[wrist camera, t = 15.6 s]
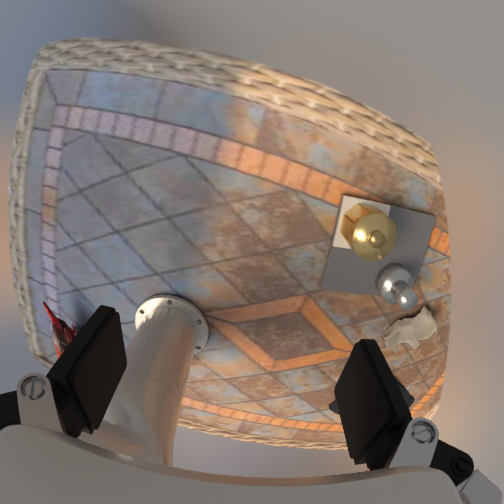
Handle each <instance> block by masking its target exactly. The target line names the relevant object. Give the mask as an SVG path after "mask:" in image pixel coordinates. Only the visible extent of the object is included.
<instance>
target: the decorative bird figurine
mask: <svg viewBox="0 0 504 504" xmlns="http://www.w3.org/2000/svg"><path fill="white" fill-rule="evenodd" d="M43 304H44V307H45V309H46V311H47V313H48V315H49V317H50V319H51V321H52V326H53V338H54V343H55V348H56V352H57V356H58V358H59V357H60V356H61V354H62V353H63V351H64V350H65V349H66V347H67V346H68V345H69V343H70V342H71V341H72V339H73V338H74V337H75V335H76V334H77V331H76V329H75V326H74V327H73V325H72V327H73V330H72V329H71V328H69V327H68V325H67V324H66V323H65V322H64V321H63V320H61V319H59V318H57V317H56V316H55V315H54V314H53V312H52V311H51V310H50V309H49V307H48V306H47V304H46V303H45V302H44V301H43ZM74 334H75V335H74Z"/></svg>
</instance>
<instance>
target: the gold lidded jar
mask: <svg viewBox="0 0 504 504" xmlns="http://www.w3.org/2000/svg"><path fill="white" fill-rule="evenodd" d="M344 214H345V215H343V218H342V223H341V227H340V233H341V235H342V236H343V238H344V239H345V241H346V242H347V244H348V245H349V246H350V248H351V249H352V250H353V251H354V253H355V254H356V255H357V256H359V257H360V258H362V259H363V260H366V261H378V260H381V259H383V258H385V257H386V256H387V255H388V254H389V253H390V252H391V251H392V249H393V248H394V246H395V243H396V240H397V229H396V226H395V224H394V222H393V221H392V220H391V219H390V218H389V217H388V215H387V214H386V213H384V212H383V211H381V210H379V209H378V208H376V207H374V206H371V205H366V204H361V203H359V205H358V204H356V205H355V206H353V207H352V208H351V209H349V210H348V211H346V212H345V213H344Z"/></svg>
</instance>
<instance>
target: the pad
mask: <svg viewBox="0 0 504 504" xmlns="http://www.w3.org/2000/svg"><path fill="white" fill-rule="evenodd" d="M359 203H361V204H366V205H371V206H374V207H376V208H378V209H379V210H381V211H383V212H384V213H386V214H387V215H389V211H390V207H391V206H390V205H387V204H382V203H378V202H373V201H369V200H364V199H360V198H355V197H350V196H345V195H344V197H343V202H342V206H341V211H340V215H339V220H338V224H337V229H336V233H335V237H334V241H333V246H334V247H341V248H347V249H351V248H350V246H349V245H348V244H347V242H346V241H345V239H344V238H343V236H342V235H341V233H340V227H341V223H342V218H343V215H345V214H344V213H345V212H346V211H348V210H349V209H351V208H352V207H353V206H355V205H356V204H358V205H359Z"/></svg>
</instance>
